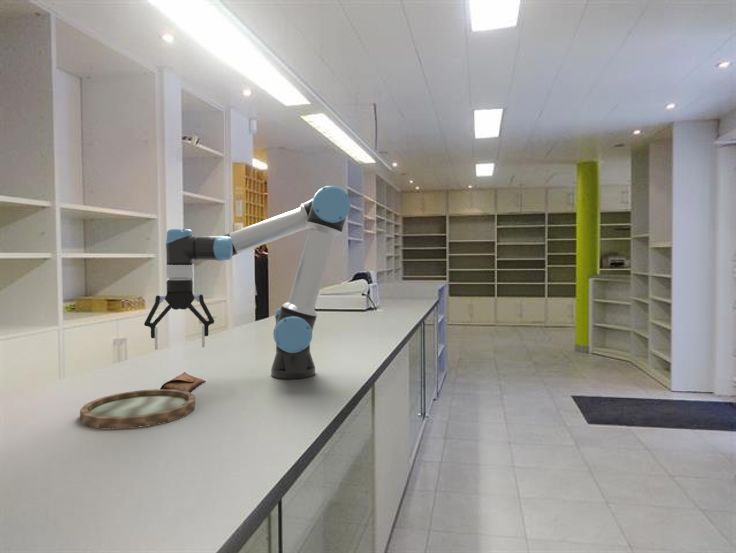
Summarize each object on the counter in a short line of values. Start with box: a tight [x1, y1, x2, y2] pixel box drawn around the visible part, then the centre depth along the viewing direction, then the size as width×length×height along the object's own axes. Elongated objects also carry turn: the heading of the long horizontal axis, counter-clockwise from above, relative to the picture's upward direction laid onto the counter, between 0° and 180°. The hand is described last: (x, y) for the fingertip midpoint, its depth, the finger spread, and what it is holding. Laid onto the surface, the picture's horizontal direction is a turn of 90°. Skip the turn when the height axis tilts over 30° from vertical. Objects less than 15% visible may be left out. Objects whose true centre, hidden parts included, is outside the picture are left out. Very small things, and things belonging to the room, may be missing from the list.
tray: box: [79, 388, 196, 430], centre depth 133 cm, size 27×27×2 cm
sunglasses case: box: [159, 371, 206, 393], centre depth 158 cm, size 18×7×7 cm
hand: (180, 347), depth 157 cm, fingers open, 13 cm apart
